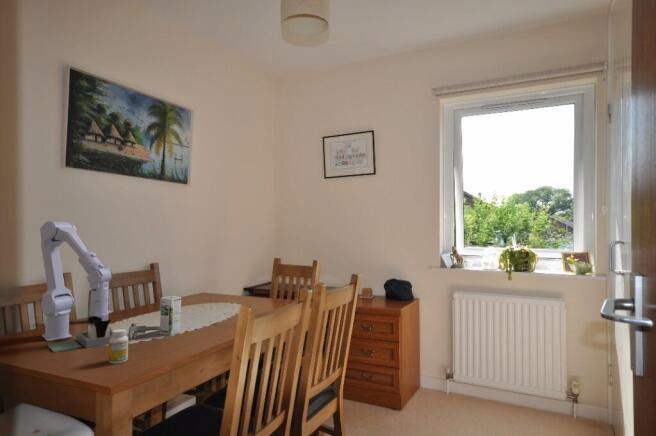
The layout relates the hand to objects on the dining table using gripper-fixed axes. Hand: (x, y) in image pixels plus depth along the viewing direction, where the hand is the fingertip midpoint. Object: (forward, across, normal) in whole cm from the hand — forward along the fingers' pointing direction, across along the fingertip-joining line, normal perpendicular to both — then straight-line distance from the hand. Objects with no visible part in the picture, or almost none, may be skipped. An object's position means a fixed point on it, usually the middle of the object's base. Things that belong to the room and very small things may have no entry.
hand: (98, 337), depth 151 cm
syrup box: (+2, -7, -24) cm, 25 cm away
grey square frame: (+1, 0, 0) cm, 1 cm away
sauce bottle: (+2, +33, -8) cm, 34 cm away
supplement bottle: (+2, -28, +2) cm, 28 cm away
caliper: (+2, -3, -18) cm, 18 cm away
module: (+1, 0, 0) cm, 1 cm away
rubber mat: (+1, 0, +11) cm, 11 cm away
